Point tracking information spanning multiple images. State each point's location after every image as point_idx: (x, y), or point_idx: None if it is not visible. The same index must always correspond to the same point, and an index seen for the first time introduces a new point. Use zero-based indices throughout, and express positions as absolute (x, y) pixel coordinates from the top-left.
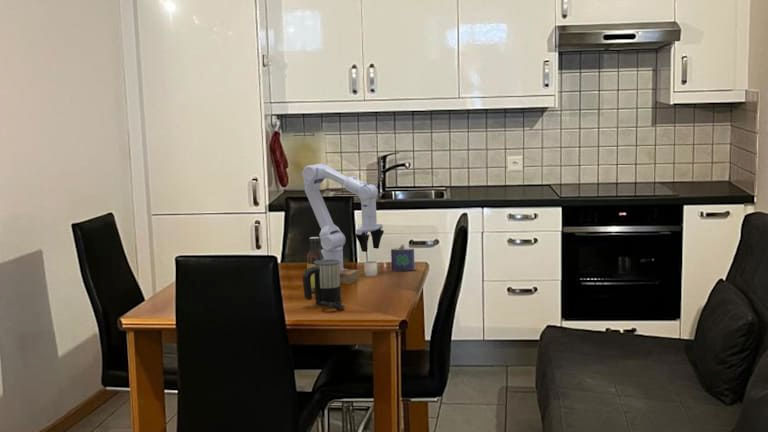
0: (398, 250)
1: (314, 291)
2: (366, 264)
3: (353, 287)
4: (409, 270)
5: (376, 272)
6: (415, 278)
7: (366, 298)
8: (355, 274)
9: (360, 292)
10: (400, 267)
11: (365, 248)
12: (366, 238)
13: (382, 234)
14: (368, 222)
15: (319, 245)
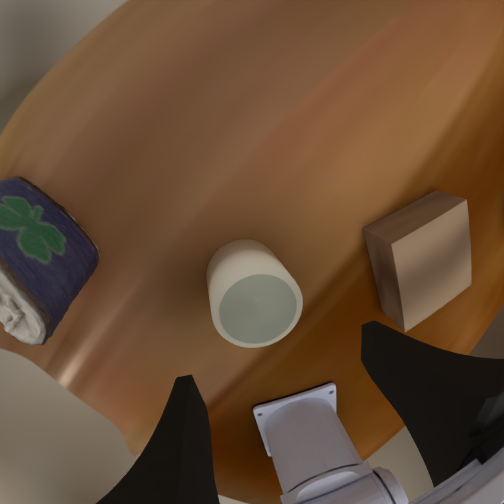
0: (11, 272)
1: None
2: (300, 298)
3: (458, 133)
4: (32, 185)
5: (234, 246)
6: (147, 7)
7: (488, 13)
8: (412, 221)
9: (476, 63)
10: (60, 221)
11: (396, 336)
12: (490, 364)
13: (115, 488)
14: None
15: None
